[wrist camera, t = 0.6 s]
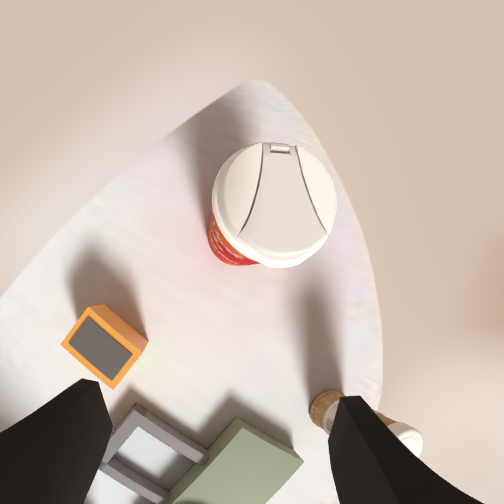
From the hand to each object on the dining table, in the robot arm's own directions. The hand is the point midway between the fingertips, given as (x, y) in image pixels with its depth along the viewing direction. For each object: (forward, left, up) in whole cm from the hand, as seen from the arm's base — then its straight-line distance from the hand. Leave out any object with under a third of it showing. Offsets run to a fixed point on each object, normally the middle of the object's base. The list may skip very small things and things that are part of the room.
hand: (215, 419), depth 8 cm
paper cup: (+10, +2, -21) cm, 24 cm away
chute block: (-5, +5, -21) cm, 23 cm away
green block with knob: (-13, -9, -21) cm, 26 cm away
